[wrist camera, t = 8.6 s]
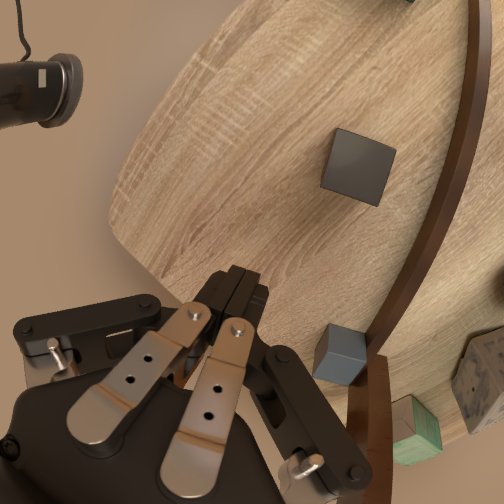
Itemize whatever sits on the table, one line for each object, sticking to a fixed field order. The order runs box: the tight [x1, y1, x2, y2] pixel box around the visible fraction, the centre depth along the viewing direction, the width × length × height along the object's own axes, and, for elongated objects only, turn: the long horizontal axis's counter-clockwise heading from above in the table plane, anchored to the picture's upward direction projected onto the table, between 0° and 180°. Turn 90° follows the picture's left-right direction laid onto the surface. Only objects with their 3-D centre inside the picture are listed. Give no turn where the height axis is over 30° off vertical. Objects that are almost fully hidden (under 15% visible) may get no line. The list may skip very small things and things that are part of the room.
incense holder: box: [452, 327, 504, 435], centre depth 20 cm, size 10×8×10 cm
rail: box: [349, 0, 492, 386], centre depth 19 cm, size 48×2×2 cm, turn 167°
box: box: [391, 395, 442, 466], centre depth 30 cm, size 7×14×8 cm, turn 49°
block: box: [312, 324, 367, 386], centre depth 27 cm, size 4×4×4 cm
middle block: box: [320, 128, 397, 207], centre depth 19 cm, size 4×4×4 cm
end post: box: [337, 354, 393, 504], centre depth 19 cm, size 5×3×26 cm, turn 167°
